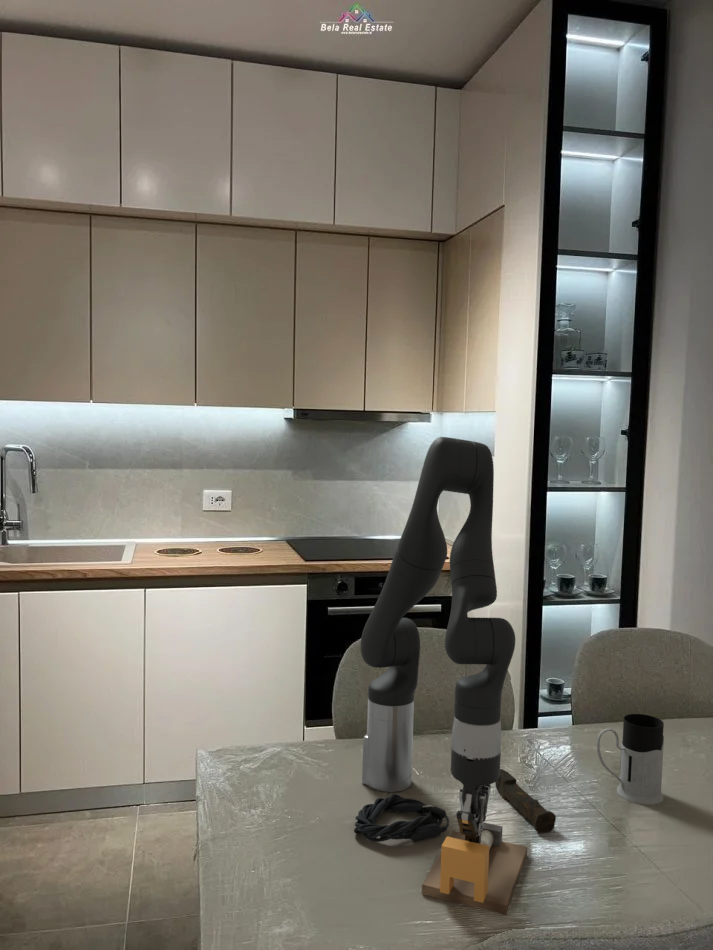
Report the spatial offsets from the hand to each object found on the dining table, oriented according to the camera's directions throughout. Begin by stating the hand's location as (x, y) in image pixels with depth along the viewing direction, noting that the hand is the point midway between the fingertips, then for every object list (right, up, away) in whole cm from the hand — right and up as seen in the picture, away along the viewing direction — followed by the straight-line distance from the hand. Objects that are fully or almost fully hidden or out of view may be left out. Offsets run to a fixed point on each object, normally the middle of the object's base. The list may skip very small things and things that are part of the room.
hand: (472, 855), depth 123 cm
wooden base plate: (+1, -5, +5) cm, 7 cm away
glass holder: (+36, -5, +34) cm, 50 cm away
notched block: (-2, -4, -3) cm, 6 cm away
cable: (-11, -5, +20) cm, 23 cm away
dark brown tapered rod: (+13, -5, +27) cm, 30 cm away
